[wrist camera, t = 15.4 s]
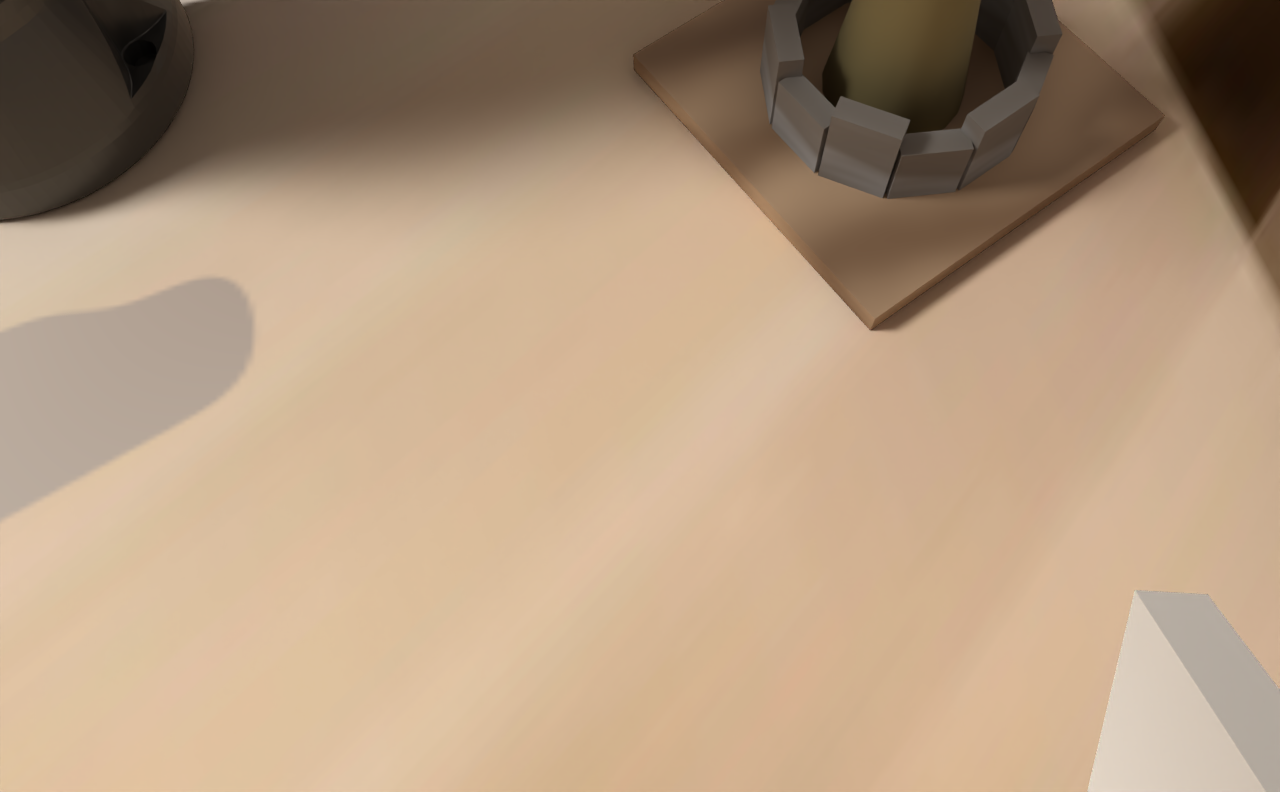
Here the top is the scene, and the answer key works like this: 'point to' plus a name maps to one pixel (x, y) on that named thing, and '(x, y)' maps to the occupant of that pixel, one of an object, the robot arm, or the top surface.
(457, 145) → the top surface
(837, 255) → the collar
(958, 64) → the cork
